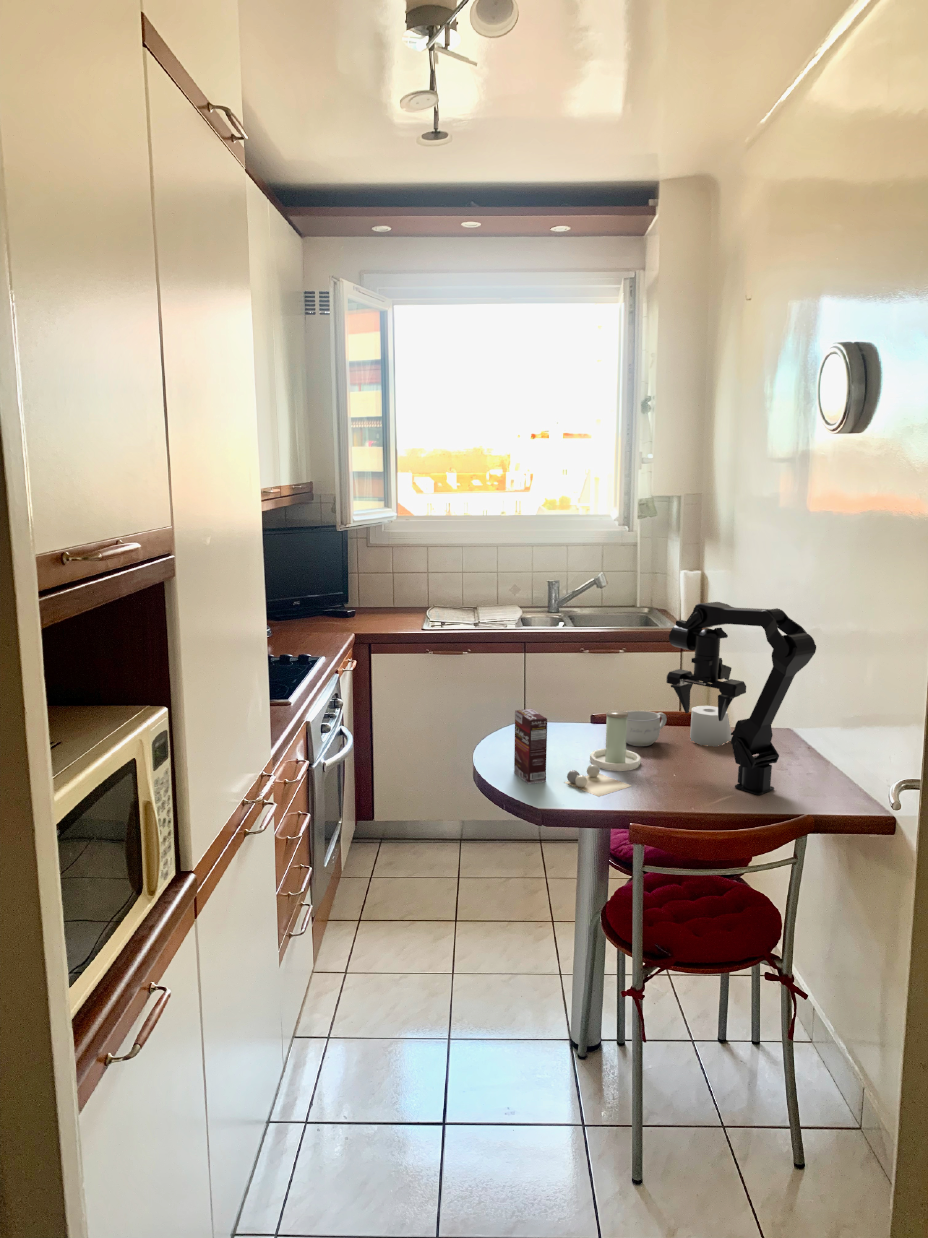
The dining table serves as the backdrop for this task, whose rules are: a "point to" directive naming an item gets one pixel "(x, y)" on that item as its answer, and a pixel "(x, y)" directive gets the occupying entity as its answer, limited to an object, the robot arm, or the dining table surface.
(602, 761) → the round white tray
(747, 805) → the dining table surface
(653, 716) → the teacup
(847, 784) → the dining table surface
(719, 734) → the toilet tissue
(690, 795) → the dining table surface
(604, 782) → the board
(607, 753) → the pale green lidded canister
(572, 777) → the pebble
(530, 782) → the supplement box
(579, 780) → the pebble
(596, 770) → the glossy white ball
